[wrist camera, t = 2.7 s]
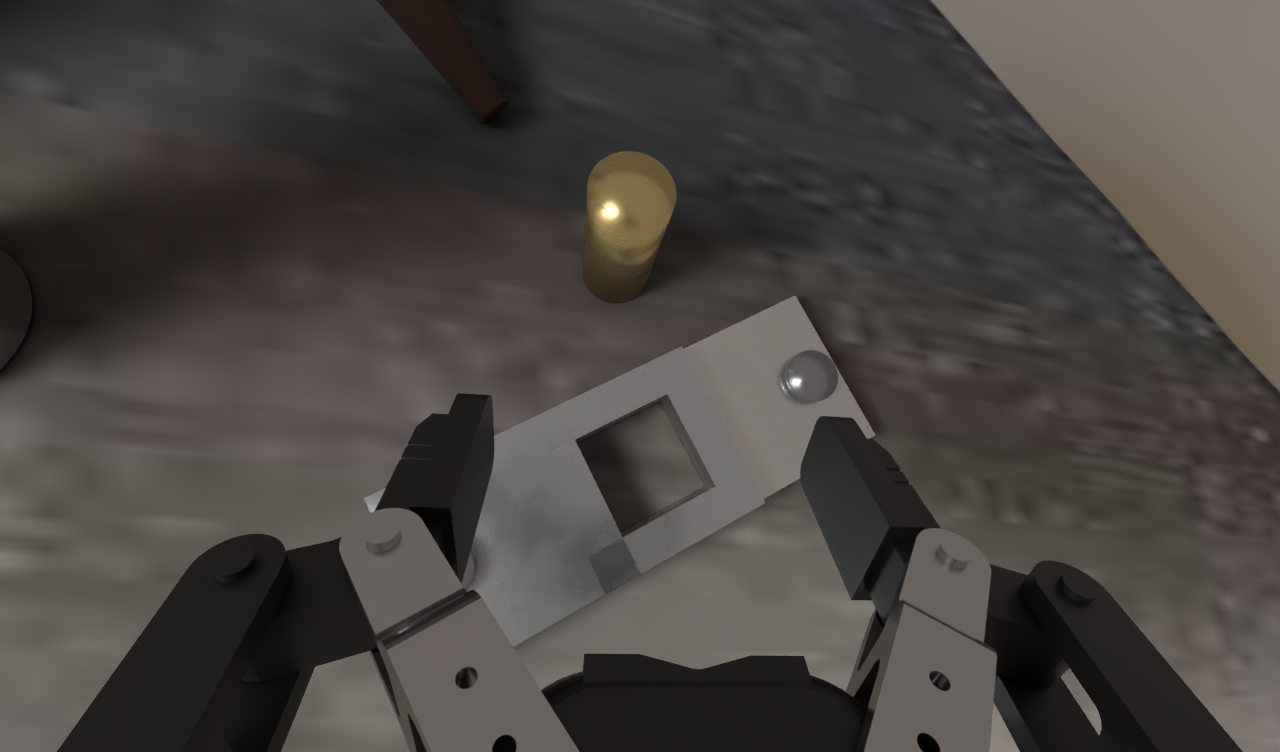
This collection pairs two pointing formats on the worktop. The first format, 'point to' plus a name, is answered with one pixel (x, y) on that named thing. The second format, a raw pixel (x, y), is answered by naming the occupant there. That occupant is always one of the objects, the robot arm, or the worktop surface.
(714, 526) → the grey metal plate
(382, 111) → the worktop surface
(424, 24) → the holster
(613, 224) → the pin
